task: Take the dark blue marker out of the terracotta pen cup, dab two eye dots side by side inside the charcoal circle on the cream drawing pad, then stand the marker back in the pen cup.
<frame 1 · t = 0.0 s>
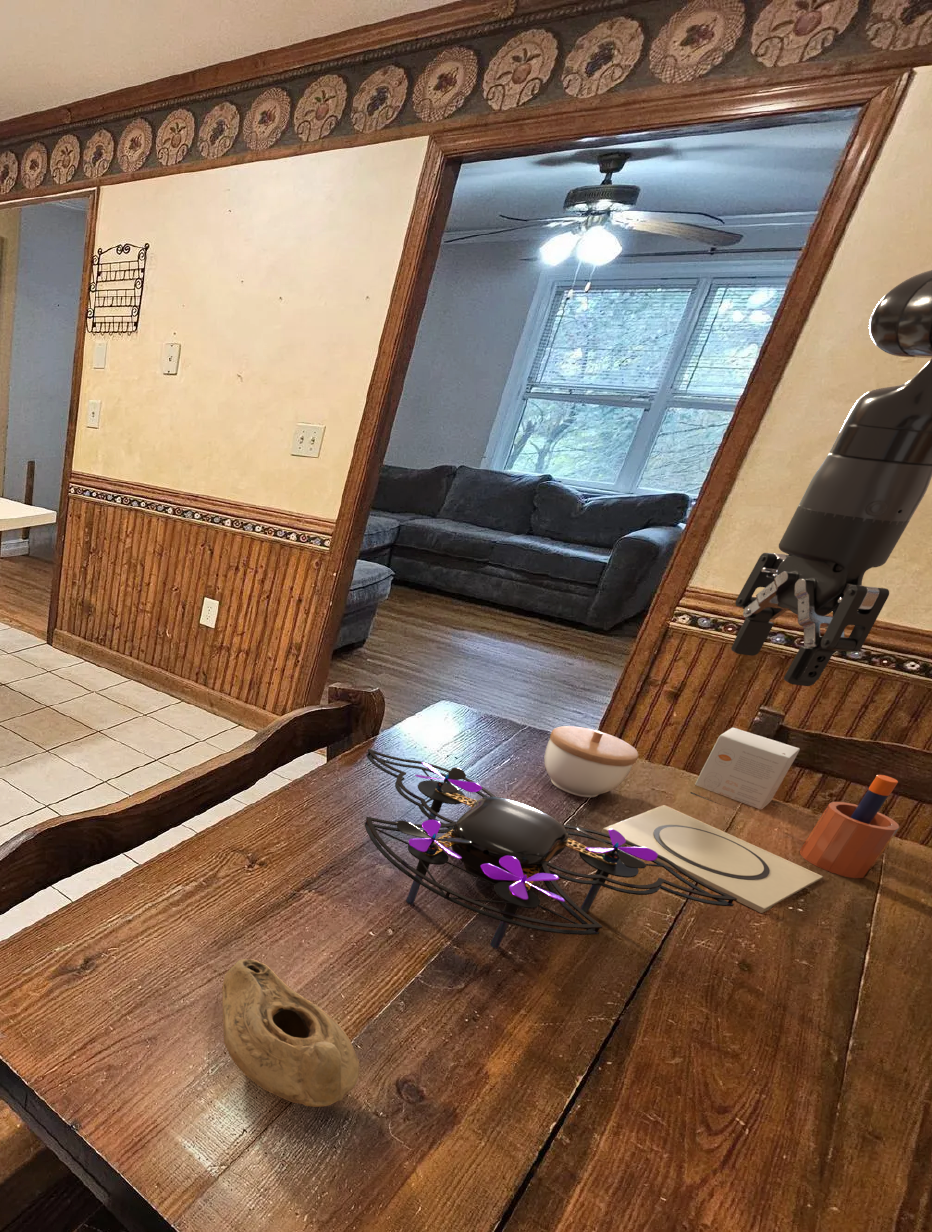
hand: (768, 668, 81), 31 cm above the table, tool pointing down, fingers open, 8 cm apart
oil lamp: (268, 1059, 71), on the table
marker: (832, 862, 104), resting on pen cup
trinket box: (573, 787, 120), on the table
drawing pad: (706, 856, 104), on the table
drone: (473, 899, 93), on the table
pen cup: (830, 865, 104), on the table
small box: (725, 804, 118), on the table
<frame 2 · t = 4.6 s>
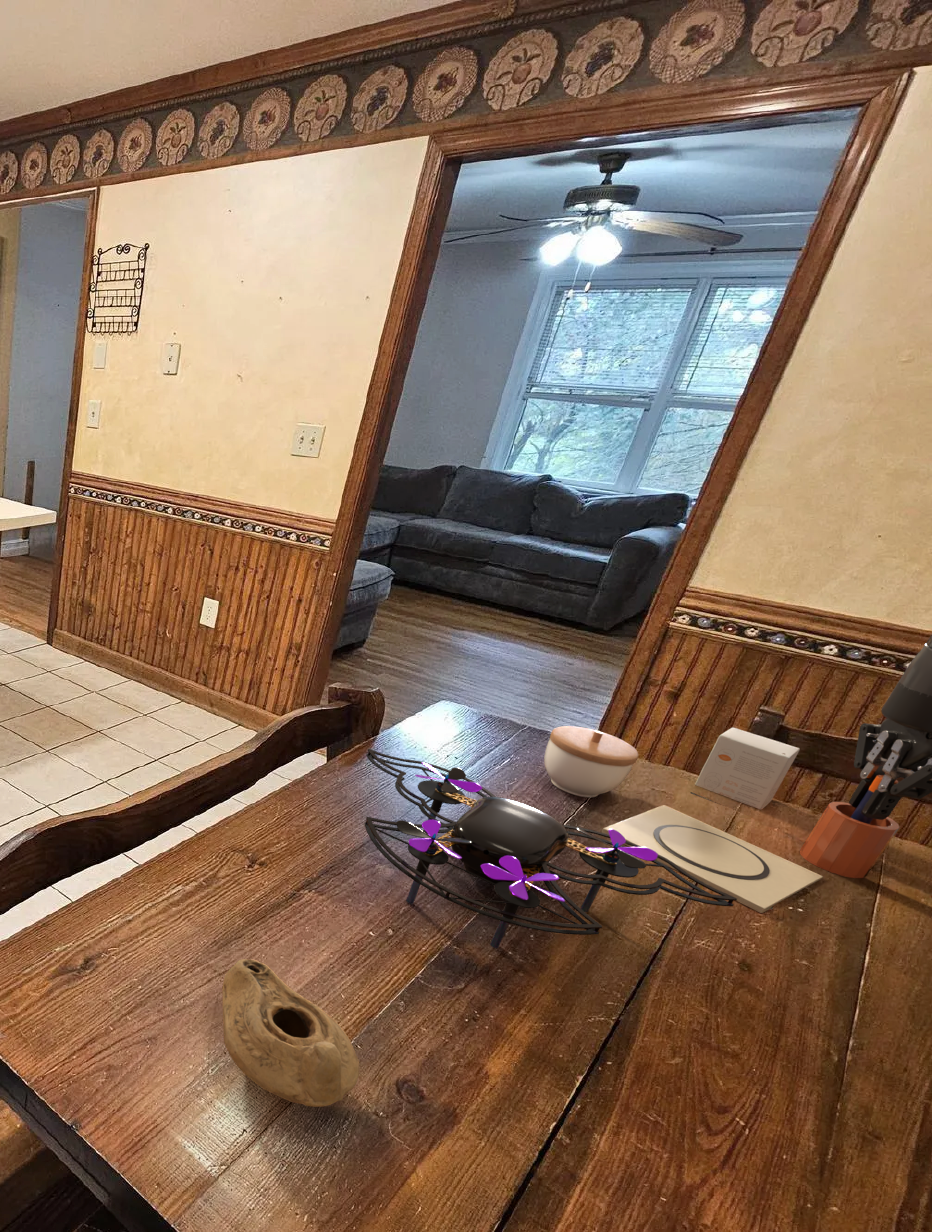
hand: (865, 811, 100), 9 cm above the table, tool pointing down, fingers closed on marker, 2 cm apart
marker: (832, 862, 104), point 1 cm above the table, touching gripper, pen cup
everything else where it was.
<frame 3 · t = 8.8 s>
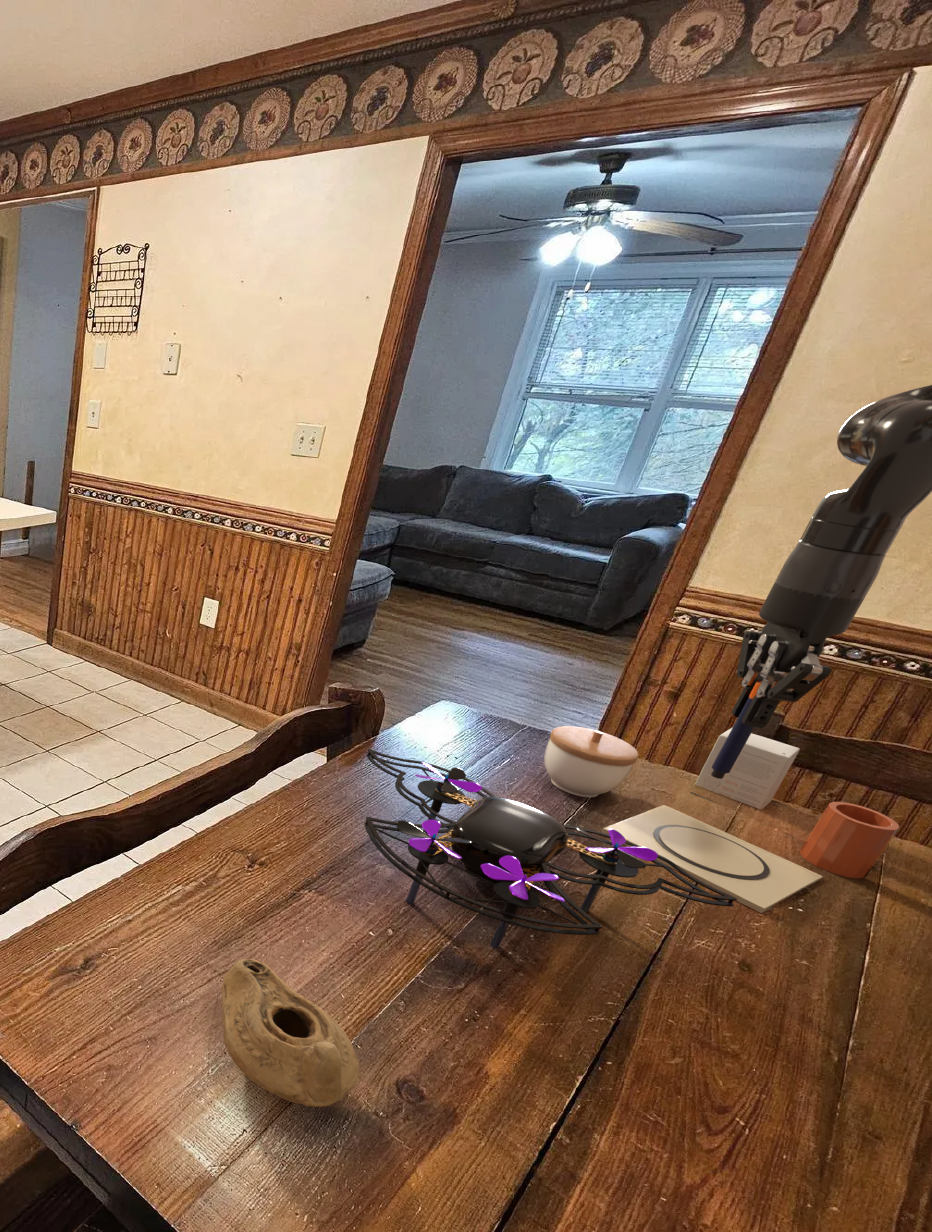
hand: (747, 720, 97), 19 cm above the table, tool pointing down, fingers closed on marker
marker: (716, 776, 100), point 11 cm above the table, touching gripper
everything else where it was.
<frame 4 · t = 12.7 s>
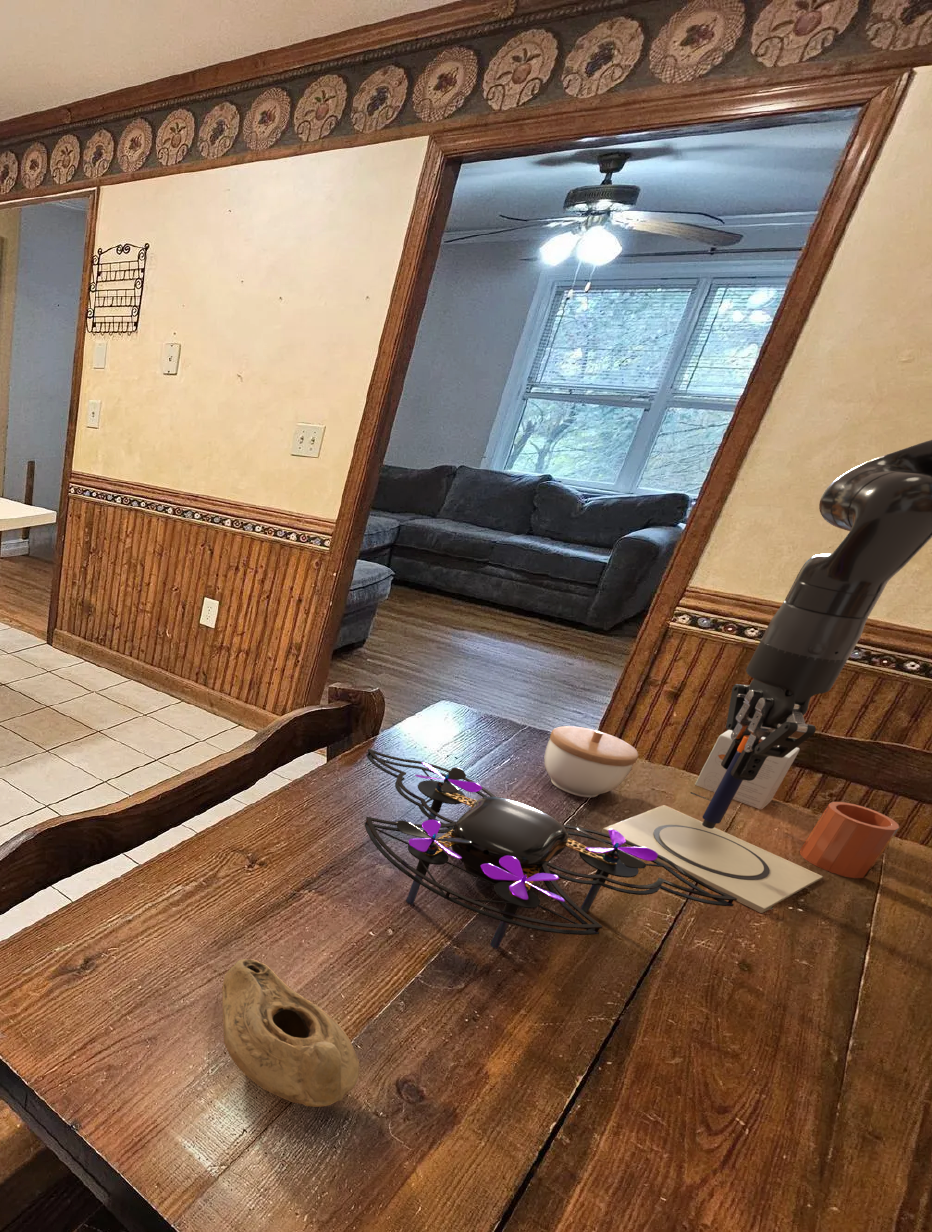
hand: (736, 773, 99), 13 cm above the table, tool pointing down, fingers closed on marker
marker: (707, 826, 102), point 5 cm above the table, touching gripper
everything else where it was.
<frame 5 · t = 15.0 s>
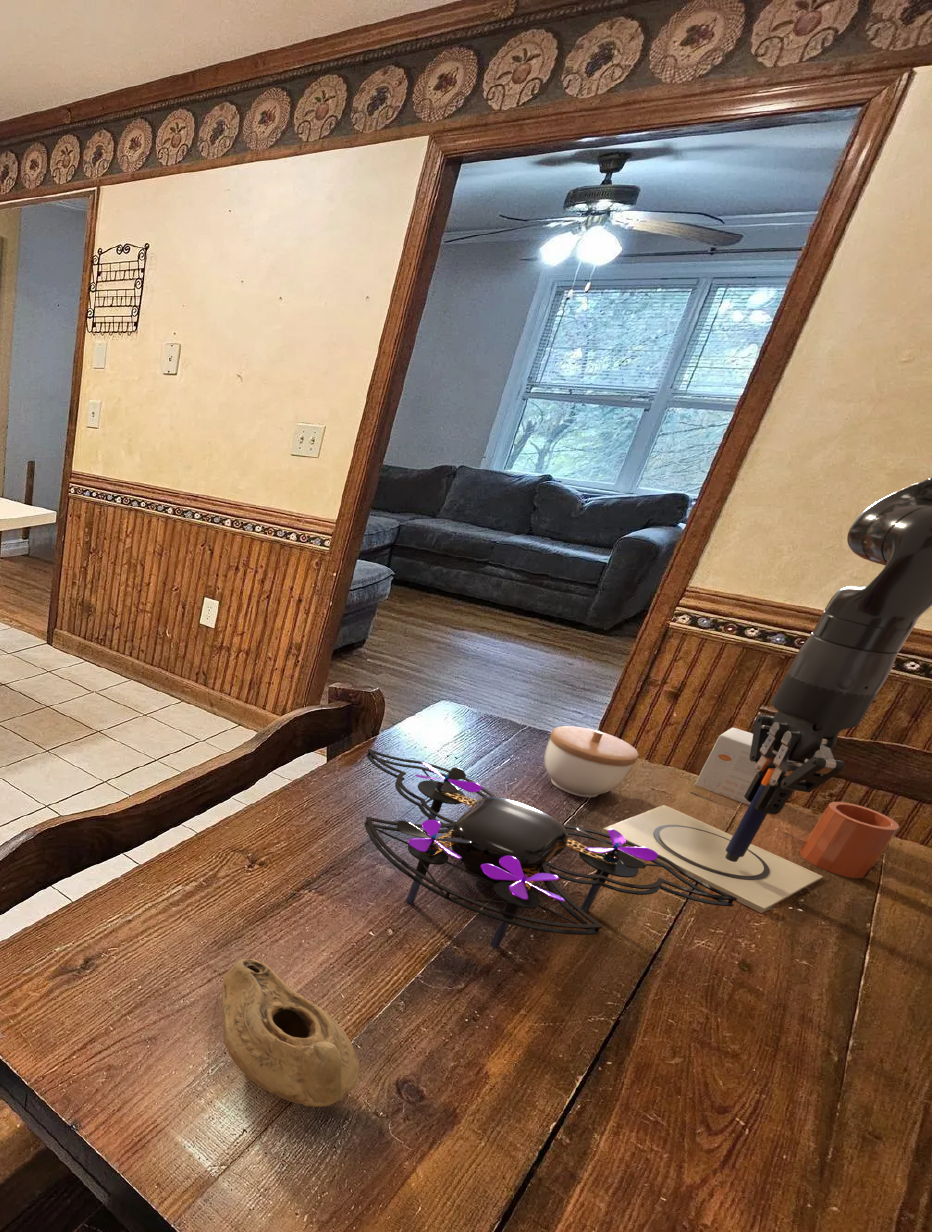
hand: (760, 806, 97), 10 cm above the table, tool pointing down, fingers closed on marker, 2 cm apart
marker: (730, 859, 101), point 2 cm above the table, touching gripper
everything else where it was.
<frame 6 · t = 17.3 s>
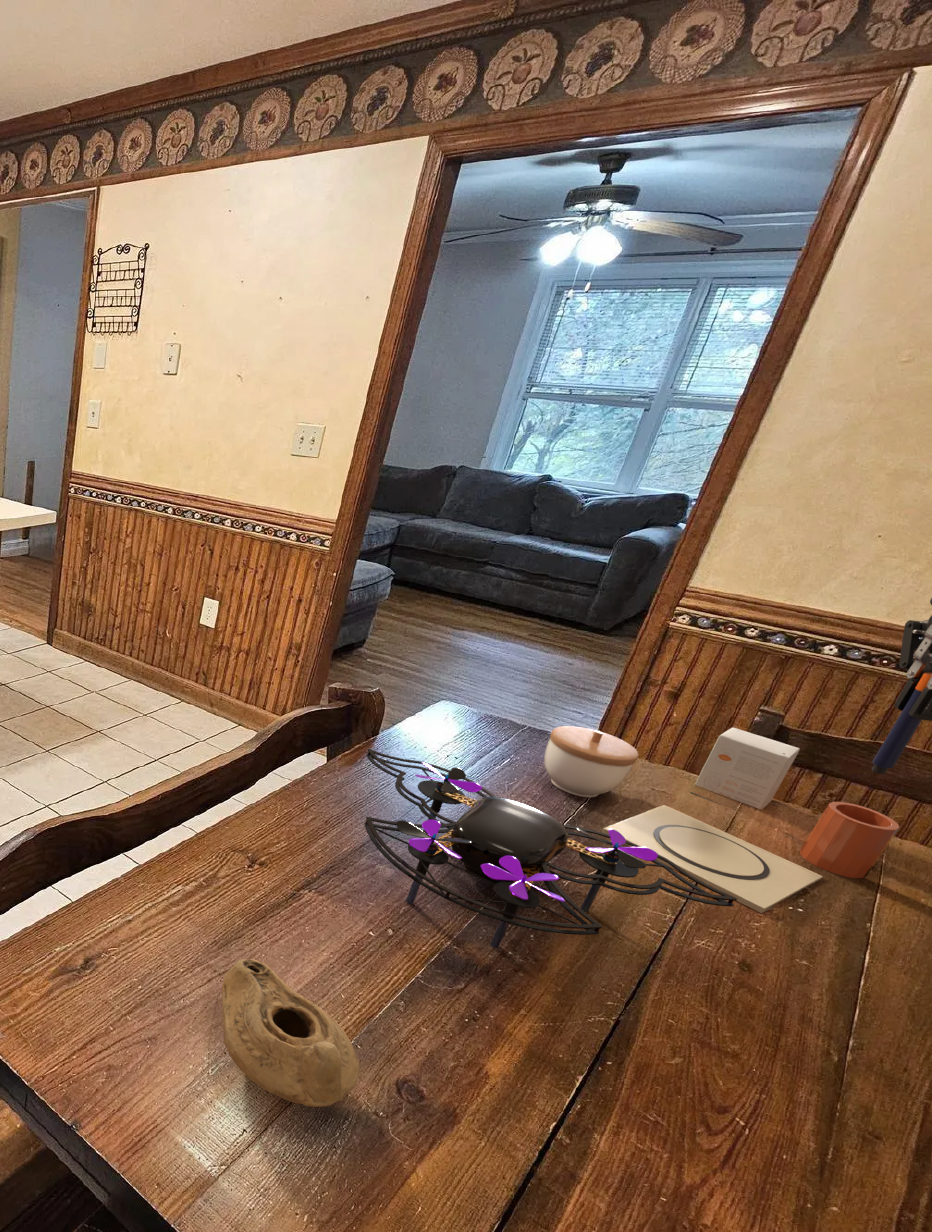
hand: (913, 713, 93), 23 cm above the table, tool pointing down, fingers closed on marker
marker: (877, 772, 97), point 15 cm above the table, touching gripper
everything else where it was.
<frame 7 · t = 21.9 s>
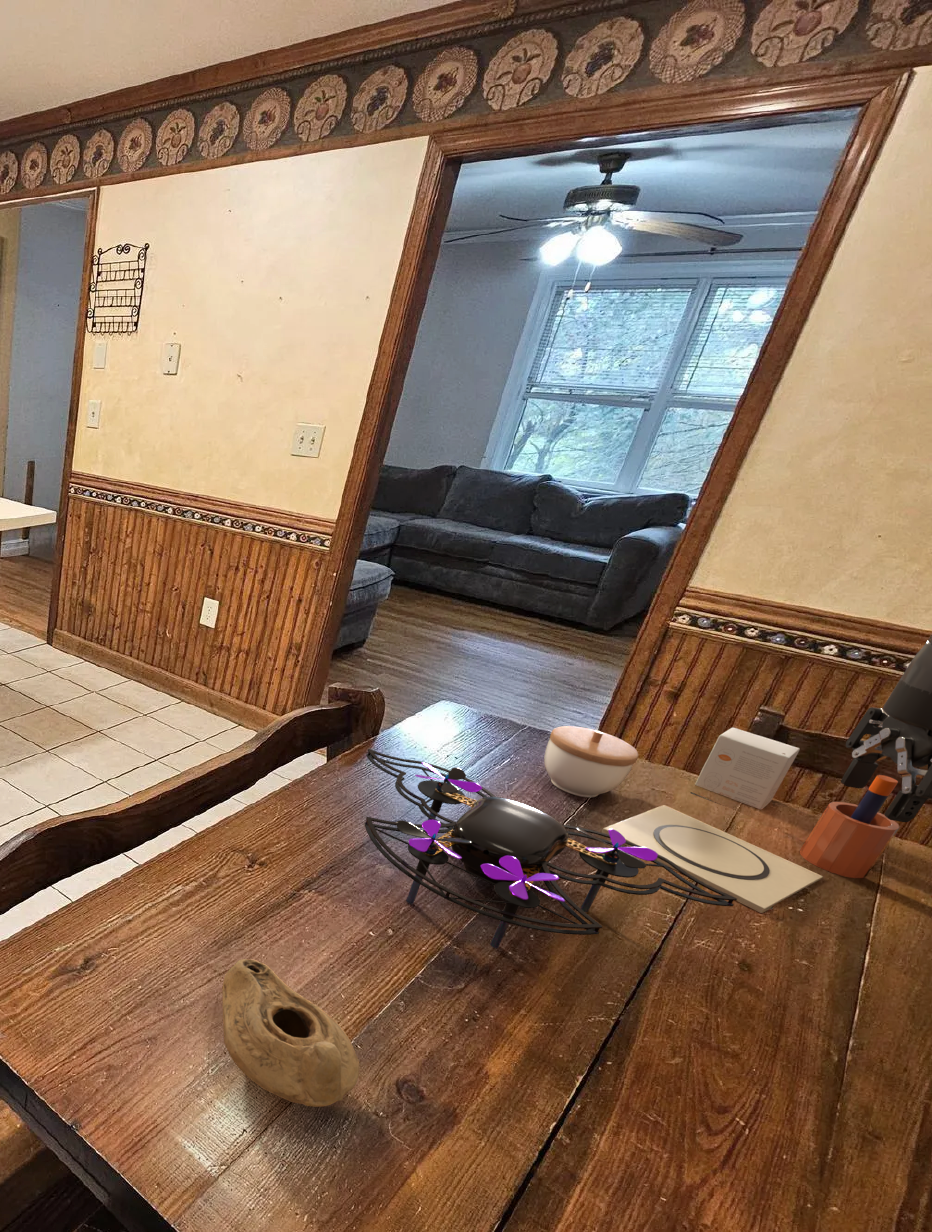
hand: (872, 802, 100), 10 cm above the table, tool pointing down, fingers open, 8 cm apart
marker: (832, 863, 104), resting on pen cup
everything else where it was.
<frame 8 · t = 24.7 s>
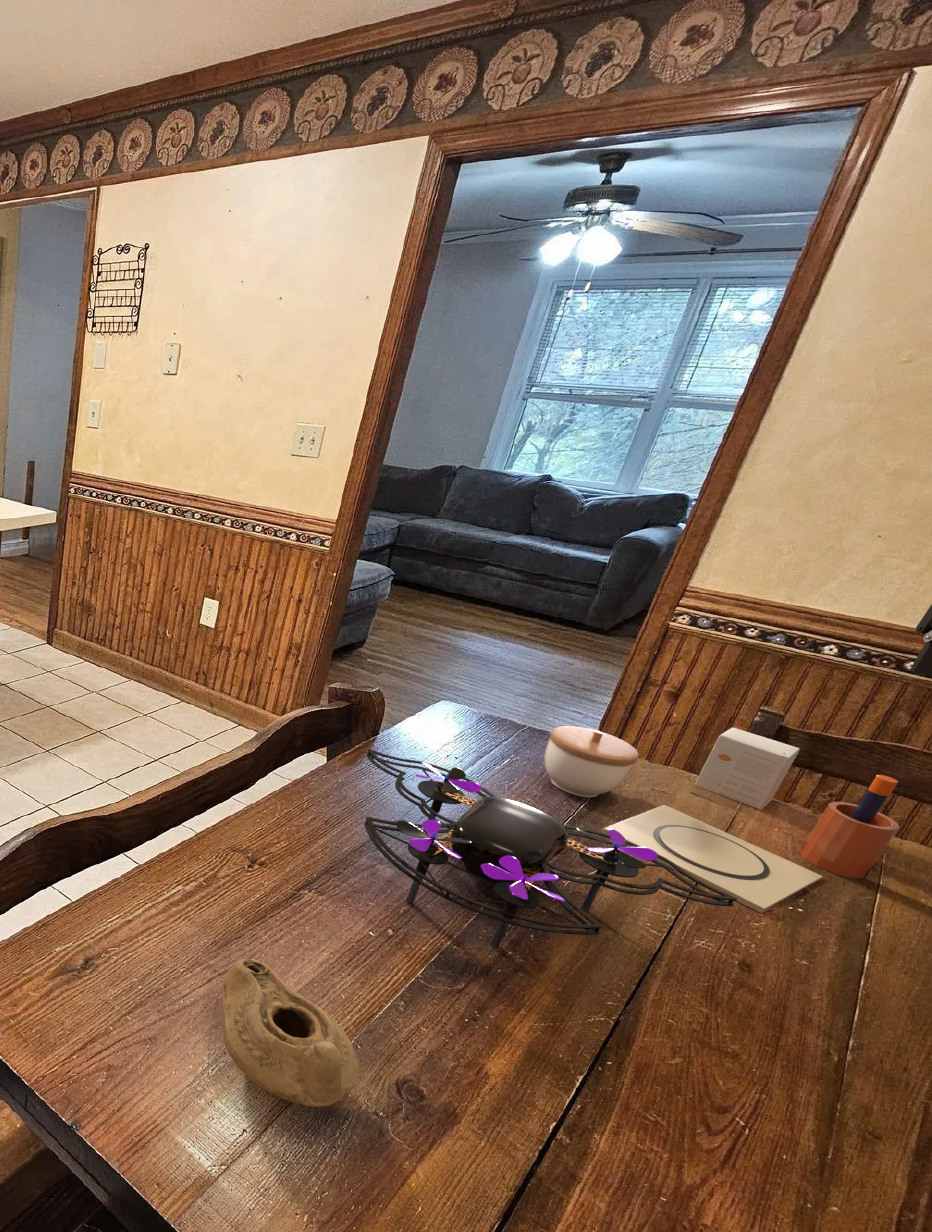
nothing on the table moved.
at the end: marker 0.1 cm off-centre in the pen cup, point 0.5 cm above the pen cup's base; marker tilted 0°; the gripper is holding nothing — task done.
